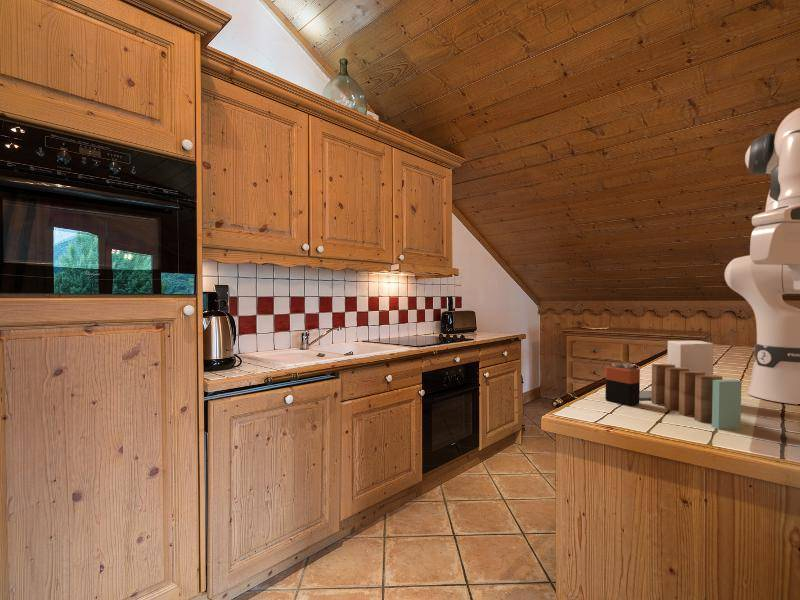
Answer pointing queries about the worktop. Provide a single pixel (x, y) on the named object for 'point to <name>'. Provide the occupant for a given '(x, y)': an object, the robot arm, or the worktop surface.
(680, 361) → the skincare box
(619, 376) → the battery
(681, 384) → the domino
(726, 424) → the domino end
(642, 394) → the pad
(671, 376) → the domino
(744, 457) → the worktop surface
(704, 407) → the domino
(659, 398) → the domino
